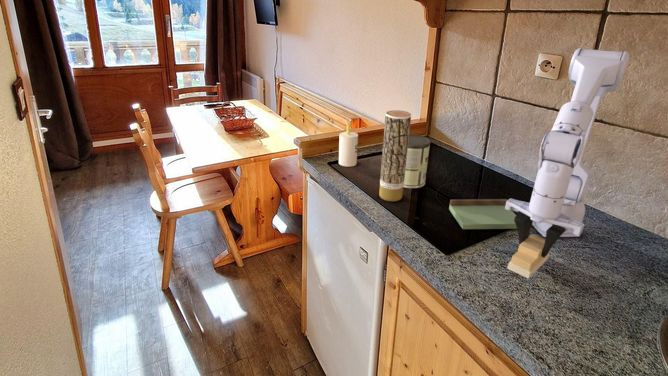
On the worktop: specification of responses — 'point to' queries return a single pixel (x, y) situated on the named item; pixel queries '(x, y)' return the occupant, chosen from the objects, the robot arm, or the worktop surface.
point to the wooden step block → (528, 256)
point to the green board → (482, 214)
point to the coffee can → (416, 161)
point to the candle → (348, 148)
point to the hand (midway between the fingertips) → (533, 250)
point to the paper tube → (394, 154)
